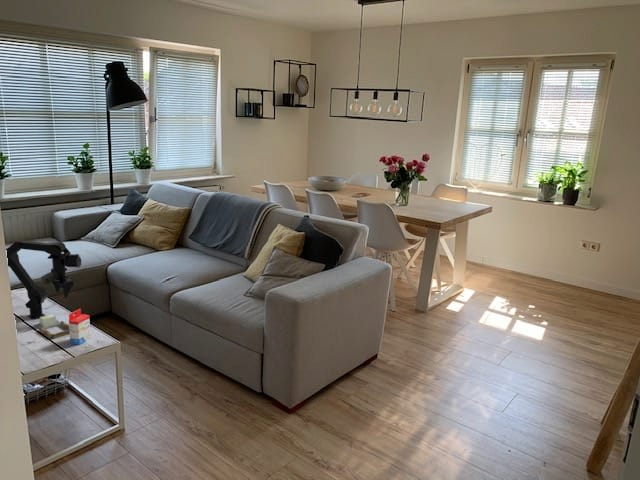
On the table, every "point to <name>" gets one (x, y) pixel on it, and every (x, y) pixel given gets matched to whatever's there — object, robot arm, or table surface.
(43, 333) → the frame
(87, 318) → the ink box
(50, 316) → the sage block
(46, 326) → the mat
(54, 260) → the robot arm
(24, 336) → the table surface
